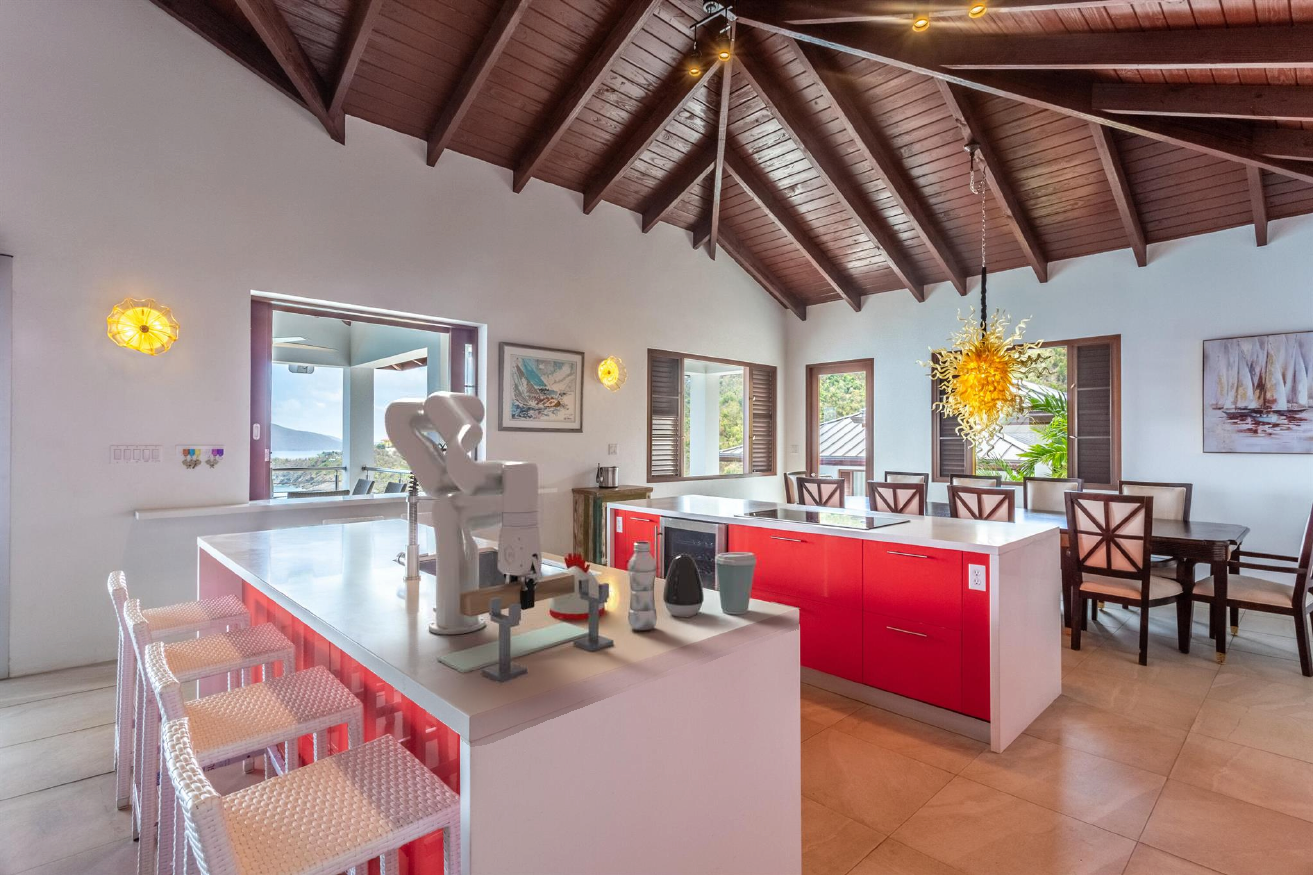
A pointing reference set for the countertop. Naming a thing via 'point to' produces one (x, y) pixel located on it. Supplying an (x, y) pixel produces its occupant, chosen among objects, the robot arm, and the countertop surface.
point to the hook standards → (506, 667)
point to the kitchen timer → (575, 593)
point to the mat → (513, 647)
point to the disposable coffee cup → (735, 580)
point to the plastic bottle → (642, 588)
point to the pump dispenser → (683, 587)
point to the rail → (515, 593)
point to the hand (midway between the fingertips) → (520, 605)
